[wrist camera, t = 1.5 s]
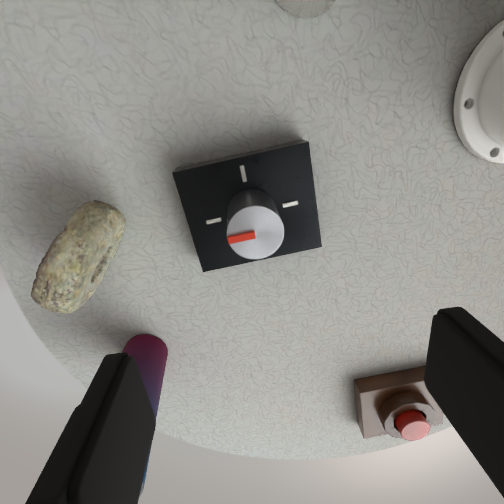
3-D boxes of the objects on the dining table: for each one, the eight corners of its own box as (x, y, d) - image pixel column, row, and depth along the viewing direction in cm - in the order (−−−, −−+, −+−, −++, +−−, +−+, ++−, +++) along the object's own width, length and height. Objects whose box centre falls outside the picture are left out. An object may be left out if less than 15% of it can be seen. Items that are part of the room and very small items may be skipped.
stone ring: (104, 282, 34) (56, 345, 25) (71, 267, 33) (9, 327, 24) (142, 203, 31) (103, 242, 22) (107, 184, 30) (51, 217, 21)
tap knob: (270, 183, 28) (279, 201, 23) (279, 229, 30) (289, 254, 25) (222, 194, 28) (220, 214, 23) (233, 238, 30) (234, 266, 25)
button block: (436, 363, 42) (455, 387, 38) (433, 409, 45) (451, 436, 42) (353, 379, 42) (365, 405, 38) (358, 424, 46) (368, 451, 42)
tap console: (302, 139, 29) (309, 142, 27) (315, 237, 33) (322, 247, 31) (176, 167, 29) (171, 172, 27) (205, 261, 34) (203, 273, 31)
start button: (422, 406, 40) (430, 418, 38) (422, 425, 41) (429, 437, 39) (394, 411, 40) (400, 424, 38) (394, 430, 41) (401, 443, 40)
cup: (184, 362, 39) (158, 497, 25) (135, 378, 40) (84, 518, 26) (159, 320, 36) (114, 447, 23) (106, 338, 37) (32, 472, 23)
